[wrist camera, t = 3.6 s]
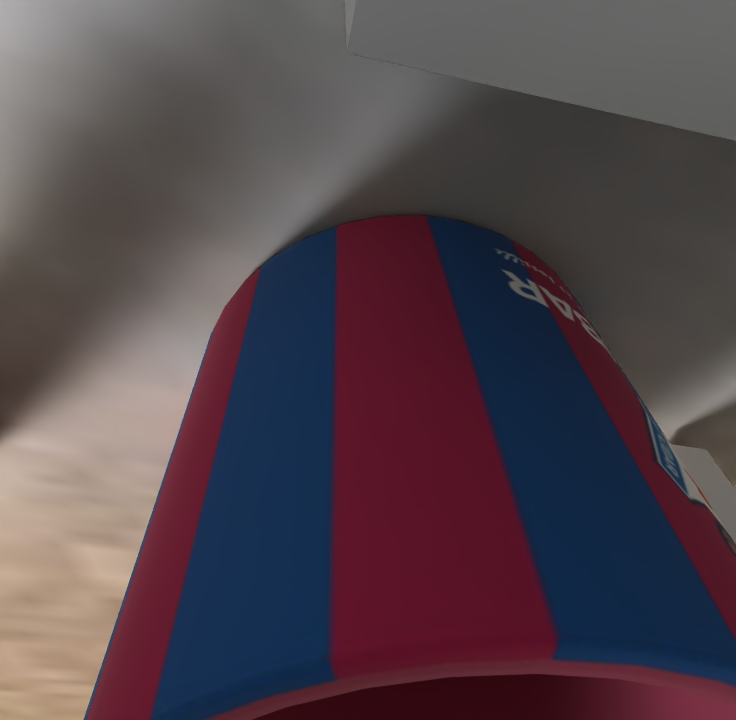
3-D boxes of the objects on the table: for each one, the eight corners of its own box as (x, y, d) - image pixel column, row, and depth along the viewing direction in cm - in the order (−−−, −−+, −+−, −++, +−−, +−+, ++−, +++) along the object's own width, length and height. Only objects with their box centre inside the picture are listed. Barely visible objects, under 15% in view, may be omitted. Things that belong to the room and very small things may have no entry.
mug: (655, 413, 12) (962, 873, 6) (257, 631, 15) (205, 1064, 9) (447, 113, 8) (658, 465, 3) (3, 470, 12) (-314, 969, 6)
